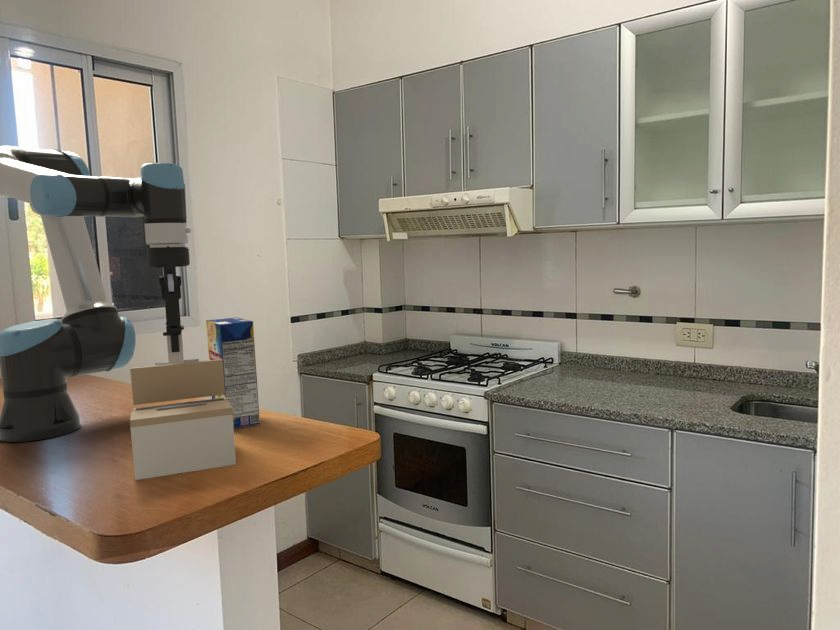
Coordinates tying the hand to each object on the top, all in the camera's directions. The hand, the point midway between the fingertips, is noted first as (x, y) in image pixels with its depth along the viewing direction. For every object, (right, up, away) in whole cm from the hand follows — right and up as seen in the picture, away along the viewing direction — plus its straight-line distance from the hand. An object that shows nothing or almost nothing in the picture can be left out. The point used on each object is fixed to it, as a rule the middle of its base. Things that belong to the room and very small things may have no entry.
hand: (176, 365), depth 126 cm
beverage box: (+8, -13, +13) cm, 20 cm away
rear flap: (+3, -3, -7) cm, 8 cm away
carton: (+6, -16, -11) cm, 20 cm away
